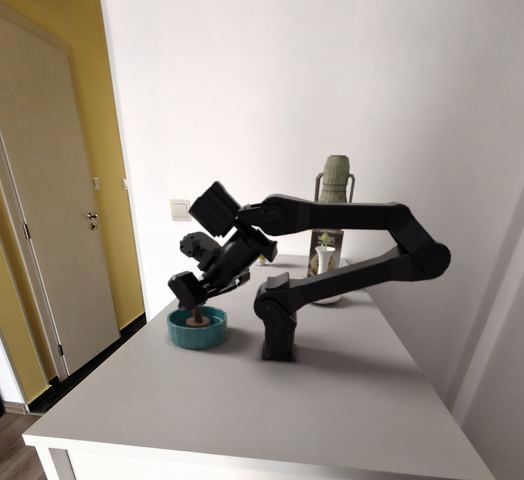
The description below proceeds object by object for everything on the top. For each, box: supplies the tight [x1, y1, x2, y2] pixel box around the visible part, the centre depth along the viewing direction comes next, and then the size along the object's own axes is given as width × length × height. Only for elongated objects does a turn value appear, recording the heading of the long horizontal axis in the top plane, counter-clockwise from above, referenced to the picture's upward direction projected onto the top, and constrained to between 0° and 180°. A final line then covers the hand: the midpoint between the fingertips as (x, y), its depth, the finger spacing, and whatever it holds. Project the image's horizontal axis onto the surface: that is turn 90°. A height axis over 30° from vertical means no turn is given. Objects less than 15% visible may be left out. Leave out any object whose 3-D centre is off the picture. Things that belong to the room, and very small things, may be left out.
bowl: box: [166, 305, 228, 350], centre depth 69 cm, size 12×12×4 cm
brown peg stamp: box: [186, 306, 210, 328], centre depth 67 cm, size 5×5×10 cm
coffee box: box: [306, 229, 345, 278], centre depth 99 cm, size 9×6×16 cm
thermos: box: [313, 154, 356, 231], centre depth 106 cm, size 9×12×35 cm
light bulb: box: [256, 255, 267, 267], centre depth 119 cm, size 7×7×10 cm
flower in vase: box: [307, 229, 342, 305], centre depth 84 cm, size 13×11×25 cm
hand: (191, 303), depth 67 cm, fingers open, 6 cm apart
